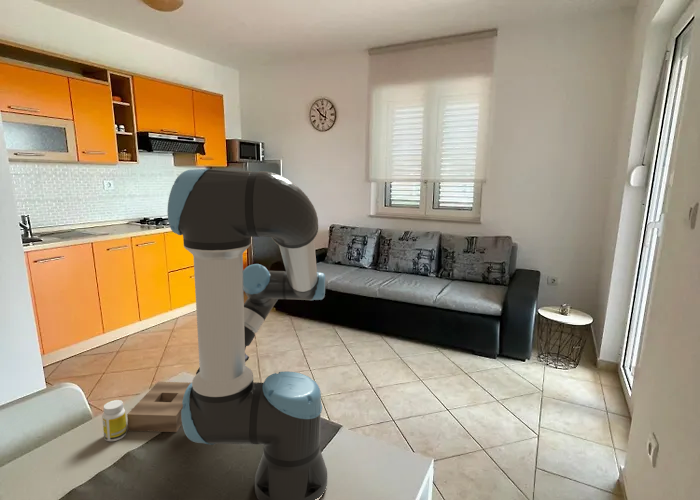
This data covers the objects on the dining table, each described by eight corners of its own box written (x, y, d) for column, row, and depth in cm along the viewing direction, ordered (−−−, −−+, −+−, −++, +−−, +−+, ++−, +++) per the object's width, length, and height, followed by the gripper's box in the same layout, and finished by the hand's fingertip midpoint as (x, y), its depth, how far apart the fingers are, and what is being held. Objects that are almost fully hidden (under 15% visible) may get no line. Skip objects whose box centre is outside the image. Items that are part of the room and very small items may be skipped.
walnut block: (176, 431, 96) (175, 415, 96) (128, 430, 96) (127, 414, 95) (200, 397, 112) (199, 382, 111) (158, 395, 112) (158, 381, 111)
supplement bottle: (131, 430, 96) (129, 399, 95) (118, 443, 92) (115, 410, 90) (113, 428, 97) (110, 398, 95) (99, 441, 92) (96, 409, 91)
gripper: (271, 340, 106) (221, 424, 95) (233, 327, 114) (184, 403, 103) (256, 327, 101) (202, 415, 89) (218, 314, 109) (164, 393, 98)
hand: (192, 408), depth 96 cm, fingers closed on dowel, 3 cm apart
